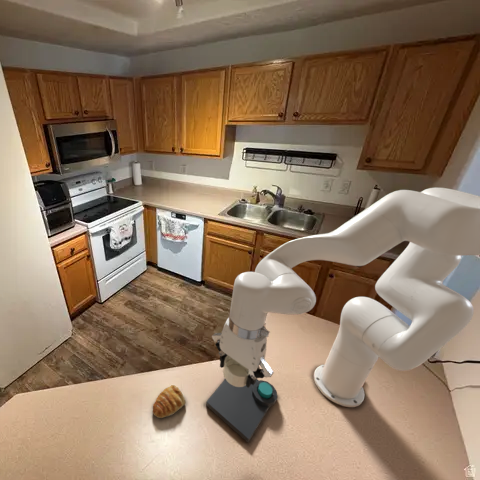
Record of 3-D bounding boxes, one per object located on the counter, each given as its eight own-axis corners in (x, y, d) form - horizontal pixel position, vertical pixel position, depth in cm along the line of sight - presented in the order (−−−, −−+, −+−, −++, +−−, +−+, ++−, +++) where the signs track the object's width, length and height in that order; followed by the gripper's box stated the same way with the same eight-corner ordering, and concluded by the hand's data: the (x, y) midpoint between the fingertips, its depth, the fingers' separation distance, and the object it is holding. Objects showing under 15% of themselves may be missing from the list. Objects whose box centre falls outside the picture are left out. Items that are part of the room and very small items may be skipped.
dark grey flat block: (236, 368, 83) (237, 360, 81) (278, 398, 74) (281, 391, 73) (206, 405, 73) (206, 398, 72) (250, 445, 64) (252, 438, 63)
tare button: (261, 383, 75) (262, 379, 74) (273, 392, 73) (274, 388, 72) (255, 392, 73) (256, 388, 72) (267, 401, 71) (268, 397, 70)
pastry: (162, 427, 69) (161, 419, 67) (147, 407, 73) (146, 399, 72) (187, 403, 74) (187, 396, 72) (172, 386, 78) (171, 378, 77)
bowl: (231, 358, 71) (233, 347, 69) (254, 375, 67) (257, 363, 65) (217, 375, 67) (219, 364, 65) (241, 393, 63) (243, 382, 60)
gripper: (292, 335, 55) (276, 386, 63) (222, 297, 66) (216, 344, 74) (276, 357, 50) (261, 409, 59) (204, 312, 61) (200, 361, 70)
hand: (236, 372), depth 66 cm, fingers closed on bowl, 6 cm apart
